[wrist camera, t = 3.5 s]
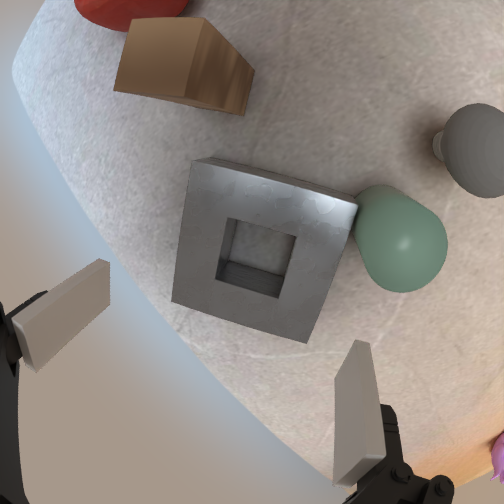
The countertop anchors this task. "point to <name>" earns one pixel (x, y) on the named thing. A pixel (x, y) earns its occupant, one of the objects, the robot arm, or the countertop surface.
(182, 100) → the walnut square peg
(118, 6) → the vegetable
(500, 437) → the teapot
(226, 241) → the bore block
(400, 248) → the green round bit
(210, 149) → the countertop surface
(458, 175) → the light bulb
